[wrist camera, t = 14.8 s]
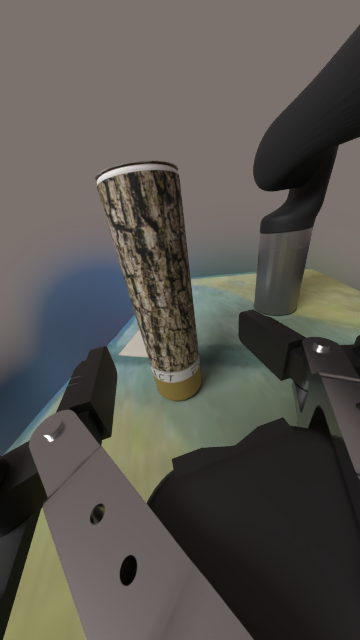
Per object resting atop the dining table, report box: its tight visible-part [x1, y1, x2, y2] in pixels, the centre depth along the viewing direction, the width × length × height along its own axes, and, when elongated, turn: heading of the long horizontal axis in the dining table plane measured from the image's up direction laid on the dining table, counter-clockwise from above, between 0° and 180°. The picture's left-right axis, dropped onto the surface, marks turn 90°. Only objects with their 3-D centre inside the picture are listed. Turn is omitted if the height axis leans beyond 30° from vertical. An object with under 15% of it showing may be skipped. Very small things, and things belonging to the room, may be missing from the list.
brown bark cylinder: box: [95, 161, 201, 401], centre depth 20 cm, size 7×7×25 cm
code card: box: [119, 329, 148, 357], centre depth 38 cm, size 12×12×1 cm
